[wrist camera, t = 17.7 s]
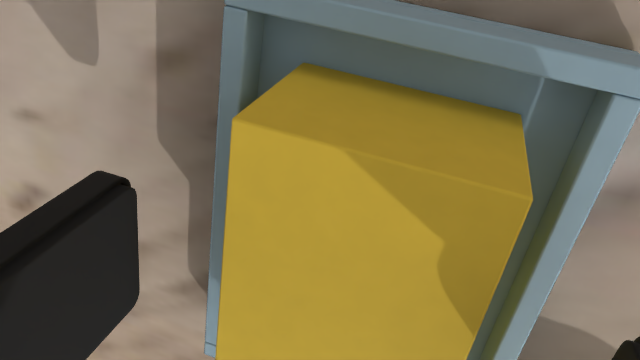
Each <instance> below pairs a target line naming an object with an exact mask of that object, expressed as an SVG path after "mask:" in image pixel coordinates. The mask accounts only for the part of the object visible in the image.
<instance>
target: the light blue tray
mask: <svg viewBox="0 0 640 360" xmlns="http://www.w3.org/2000/svg"><path fill="white" fill-rule="evenodd" d="M224 3H225V4H226V6H225V7H224V15H223V32H222V50H221V68H220V85H219V103H218V121H217V138H216V156H215V173H214V191H213V209H212V226H211V244H210V262H209V279H208V297H207V314H206V332H205V348H204V353H205V354H206V355H209V356H211V357H214V358H215V355H216V341H217V326H218V312H219V298H220V283H221V269H222V255H223V240H224V226H225V212H226V197H227V183H228V169H229V154H230V140H231V126H232V119H233V117H235V116H236V115H237V114H238V113H240V112H241V111H242V110H244V109H245V108H246V107H247V106H249V105H250V104H251V103H252V102H254V101H255V100H256V99H258V98H259V97H260V96H261V95H263V94H264V93H265V92H266V91H268V90H269V89H270V88H272V87H273V86H274V85H275V84H277V83H278V82H279V81H280V80H282V79H283V78H284V77H286V76H287V75H288V74H289V73H291V72H292V71H293V70H294V69H296V68H297V67H298V66H299V65H301V64H302V63H309V64H313V65H317V66H321V67H325V68H330V69H334V70H338V71H342V72H346V73H350V74H355V75H359V76H363V77H367V78H371V79H376V80H380V81H384V82H388V83H392V84H396V85H401V86H405V87H409V88H413V89H417V90H421V91H426V92H430V93H434V94H438V95H442V96H447V97H451V98H455V99H459V100H463V101H467V102H472V103H476V104H480V105H484V106H488V107H492V108H497V109H501V110H505V111H509V112H513V113H518V114H520V115H521V118H522V125H523V132H524V139H525V146H526V153H527V160H528V167H529V174H530V181H531V188H532V195H533V202H532V204H531V207H530V209H529V211H528V214H527V216H526V219H525V221H524V223H523V226H522V228H521V231H520V233H519V235H518V238H517V240H516V242H515V245H514V247H513V250H512V252H511V254H510V257H509V259H508V262H507V264H506V266H505V269H504V271H503V273H502V276H501V278H500V281H499V283H498V285H497V288H496V290H495V292H494V295H493V297H492V300H491V302H490V304H489V307H488V309H487V312H486V314H485V316H484V319H483V321H482V323H481V326H480V328H479V331H478V333H477V335H476V338H475V340H474V343H473V345H472V347H471V350H470V352H469V354H468V357H467V359H466V360H517V358H518V356H519V354H520V352H521V350H522V348H523V346H524V344H525V342H526V340H527V338H528V336H529V334H530V332H531V330H532V328H533V326H534V324H535V322H536V320H537V318H538V316H539V314H540V312H541V310H542V308H543V306H544V304H545V302H546V300H547V298H548V296H549V294H550V292H551V290H552V288H553V286H554V284H555V281H556V279H557V277H558V275H559V273H560V271H561V269H562V267H563V265H564V263H565V261H566V259H567V257H568V255H569V253H570V251H571V249H572V247H573V245H574V243H575V241H576V239H577V237H578V235H579V233H580V231H581V229H582V227H583V225H584V223H585V221H586V219H587V217H588V215H589V213H590V211H591V209H592V207H593V205H594V202H595V200H596V198H597V196H598V194H599V192H600V190H601V188H602V186H603V184H604V182H605V180H606V178H607V176H608V174H609V172H610V170H611V168H612V166H613V164H614V162H615V160H616V158H617V156H618V154H619V152H620V150H621V148H622V146H623V144H624V142H625V140H626V138H627V136H628V134H629V132H630V130H631V128H632V126H633V123H634V121H635V119H636V117H637V115H638V113H639V111H640V54H639V53H638V52H637V51H632V50H627V49H622V48H618V47H613V46H608V45H603V44H599V43H594V42H589V41H585V40H580V39H575V38H570V37H566V36H561V35H556V34H551V33H547V32H542V31H537V30H533V29H528V28H523V27H518V26H514V25H509V24H504V23H499V22H495V21H490V20H485V19H481V18H476V17H471V16H466V15H462V14H457V13H452V12H448V11H443V10H438V9H433V8H429V7H424V6H419V5H414V4H410V3H405V2H400V1H396V0H224Z"/></svg>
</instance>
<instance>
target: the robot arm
mask: <svg viewBox="0 0 640 360" xmlns="http://www.w3.org/2000/svg"><path fill="white" fill-rule="evenodd" d="M138 296H139V257H138V224H137V195H136V191H135V189H133V188H131V185H130V182H129V180H128V179H126V178H124V177H120V176H117V175H114V174H110V173H107V172H104V171H96V172H94V173H92V174H90V175H89V176H87V177H86V178H84V179H83V180H81V181H80V182H78V183H77V184H75V185H74V186H72V187H70V188H69V189H67V190H66V191H64V192H63V193H61V194H60V195H58V196H57V197H55V198H53V199H52V200H50V201H49V202H47V203H46V204H44V205H43V206H41V207H40V208H38V209H37V210H35V211H33V212H32V213H30V214H29V215H27V216H26V217H24V218H23V219H21V220H20V221H18V222H17V223H15V224H13V225H12V226H10V227H9V228H7V229H6V230H4V231H3V232H1V233H0V360H86V359H87V358H88V357H89V355H90V354H91V353H92V352H93V351H94V350H95V349H96V348H97V347H98V346H99V344H100V343H101V342H102V341H103V340H104V339H105V338H106V337H107V336H108V335H109V333H110V332H111V331H112V330H113V329H114V328H115V327H116V326H117V325H118V324H119V323H120V321H121V320H122V319H123V318H124V317H125V316H126V315H127V314H128V313H129V312H130V310H131V309H132V308H133V307H134V305H135V303H136V302H137V299H138ZM612 360H640V337H638V338H636V340H635V341H634V342H633V341H630V340H626V341H624V342H623V343H622V344H621V346H620V347H619V349H618V350H617V352H616V354H615V355H614V357H613V358H612Z"/></svg>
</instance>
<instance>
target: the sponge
mask: <svg viewBox="0 0 640 360" xmlns="http://www.w3.org/2000/svg"><path fill="white" fill-rule="evenodd" d="M532 202H533V195H532V188H531V181H530V174H529V167H528V160H527V153H526V146H525V139H524V132H523V125H522V118H521V115H520V114H518V113H513V112H509V111H505V110H501V109H497V108H492V107H488V106H484V105H480V104H476V103H472V102H467V101H463V100H459V99H455V98H451V97H447V96H442V95H438V94H434V93H430V92H426V91H421V90H417V89H413V88H409V87H405V86H401V85H396V84H392V83H388V82H384V81H380V80H376V79H371V78H367V77H363V76H359V75H355V74H350V73H346V72H342V71H338V70H334V69H330V68H325V67H321V66H317V65H313V64H309V63H302V64H301V65H299V66H298V67H297V68H296V69H294V70H293V71H292V72H291V73H289V74H288V75H287V76H286V77H284V78H283V79H282V80H280V81H279V82H278V83H277V84H275V85H274V86H273V87H272V88H270V89H269V90H268V91H266V92H265V93H264V94H263V95H261V96H260V97H259V98H258V99H256V100H255V101H254V102H252V103H251V104H250V105H249V106H247V107H246V108H245V109H244V110H242V111H241V112H240V113H238V114H237V115H236V116H235V117H233V119H232V126H231V140H230V154H229V169H228V183H227V197H226V212H225V226H224V240H223V255H222V269H221V283H220V298H219V312H218V326H217V341H216V355H215V360H466V359H467V357H468V354H469V352H470V350H471V347H472V345H473V343H474V340H475V338H476V335H477V333H478V331H479V328H480V326H481V323H482V321H483V319H484V316H485V314H486V312H487V309H488V307H489V304H490V302H491V300H492V297H493V295H494V292H495V290H496V288H497V285H498V283H499V281H500V278H501V276H502V273H503V271H504V269H505V266H506V264H507V262H508V259H509V257H510V254H511V252H512V250H513V247H514V245H515V242H516V240H517V238H518V235H519V233H520V231H521V228H522V226H523V223H524V221H525V219H526V216H527V214H528V211H529V209H530V207H531V204H532Z"/></svg>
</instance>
